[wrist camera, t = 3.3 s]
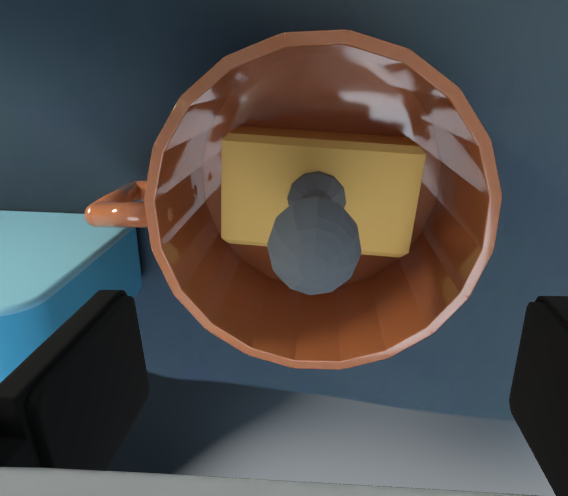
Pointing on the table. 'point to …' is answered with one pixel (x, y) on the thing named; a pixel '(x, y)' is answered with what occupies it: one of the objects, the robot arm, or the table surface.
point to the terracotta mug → (329, 118)
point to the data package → (55, 275)
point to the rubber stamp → (319, 199)
